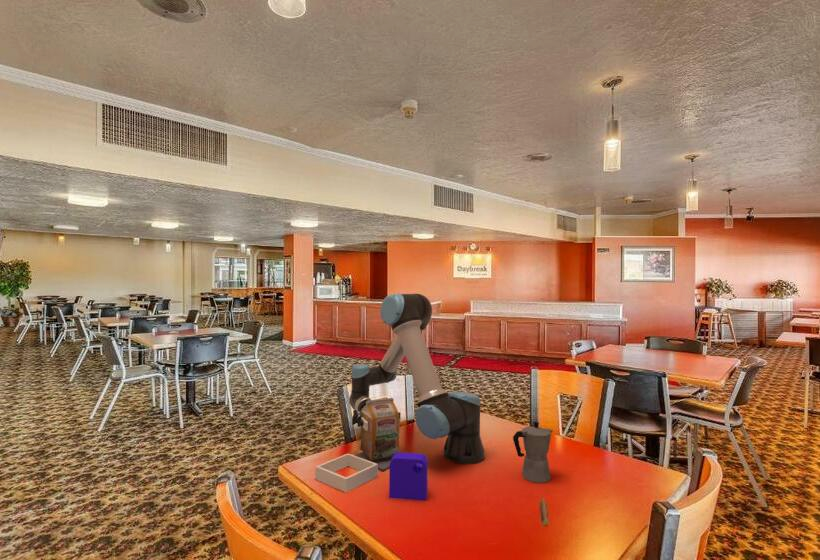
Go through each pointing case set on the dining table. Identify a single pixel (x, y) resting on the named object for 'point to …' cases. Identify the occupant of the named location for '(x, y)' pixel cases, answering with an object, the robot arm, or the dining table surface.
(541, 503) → the wooden stick
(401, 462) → the bracket
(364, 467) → the carton holder
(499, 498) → the dining table surface
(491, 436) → the dining table surface
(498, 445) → the dining table surface
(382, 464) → the rubber mat
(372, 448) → the milk carton
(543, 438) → the coffeepot
